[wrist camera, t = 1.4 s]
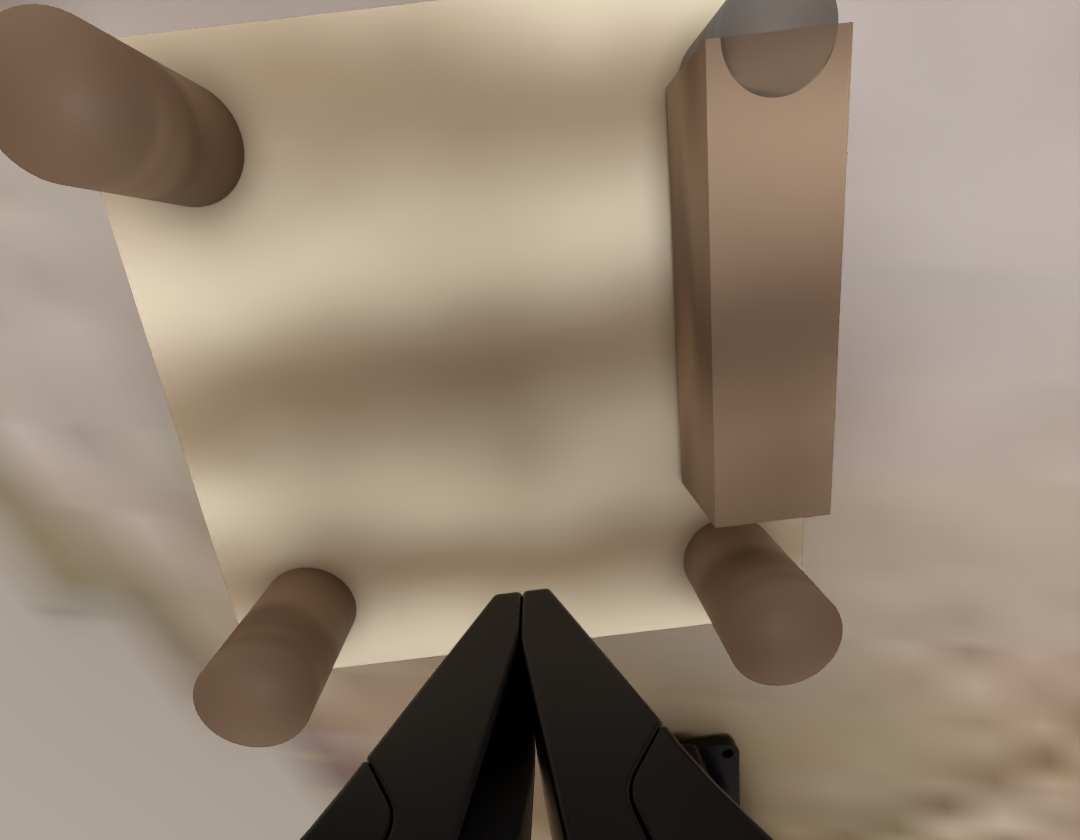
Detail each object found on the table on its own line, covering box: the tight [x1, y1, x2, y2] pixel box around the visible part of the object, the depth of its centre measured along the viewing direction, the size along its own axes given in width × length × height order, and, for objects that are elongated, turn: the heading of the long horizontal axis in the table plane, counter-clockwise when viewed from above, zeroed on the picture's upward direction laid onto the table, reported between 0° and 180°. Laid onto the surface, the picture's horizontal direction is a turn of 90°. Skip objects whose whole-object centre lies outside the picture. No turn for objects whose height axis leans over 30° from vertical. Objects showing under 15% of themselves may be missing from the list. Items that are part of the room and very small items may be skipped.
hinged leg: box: [666, 0, 853, 528], centre depth 14 cm, size 12×3×3 cm, turn 6°
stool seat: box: [0, 0, 842, 747], centre depth 15 cm, size 19×19×7 cm
